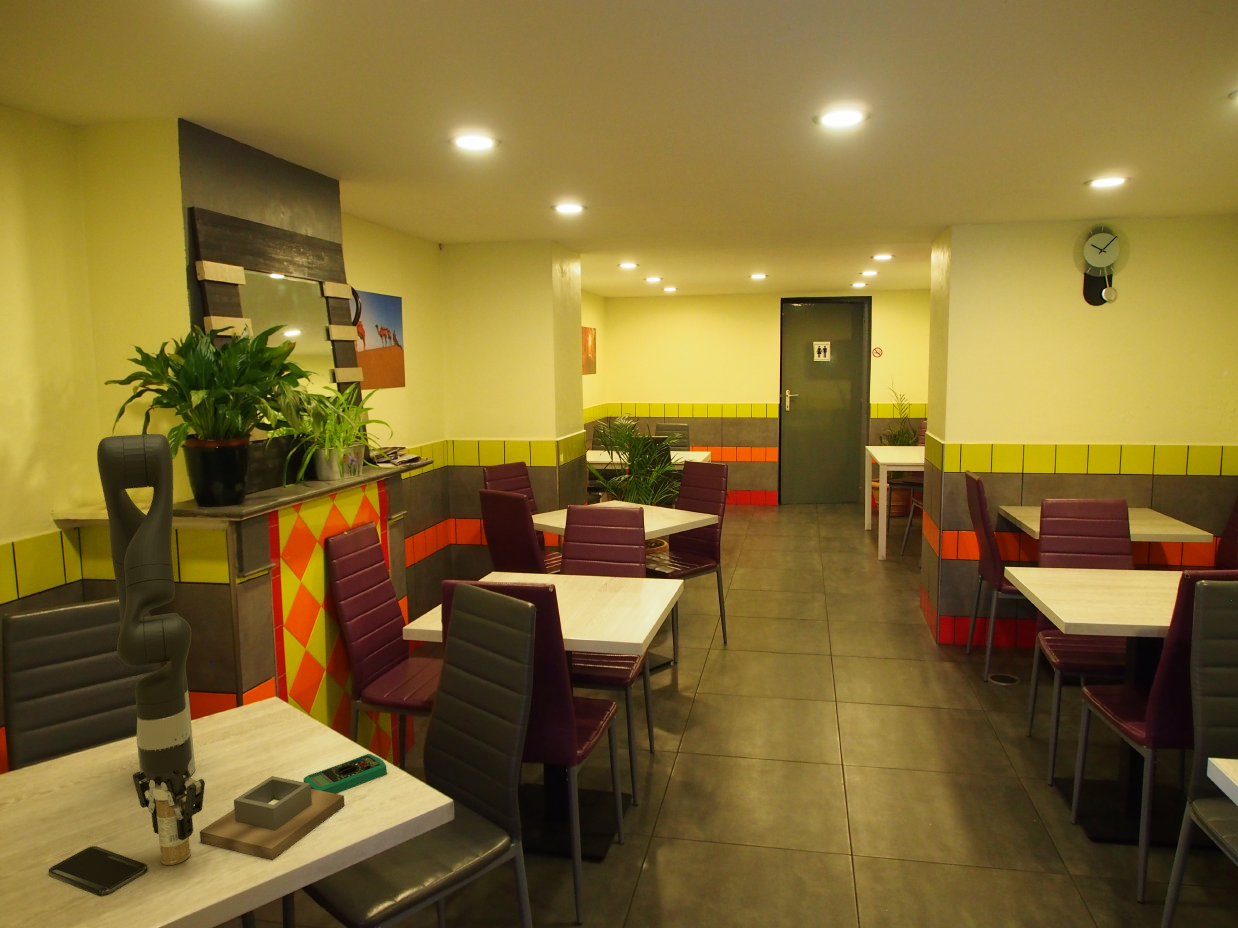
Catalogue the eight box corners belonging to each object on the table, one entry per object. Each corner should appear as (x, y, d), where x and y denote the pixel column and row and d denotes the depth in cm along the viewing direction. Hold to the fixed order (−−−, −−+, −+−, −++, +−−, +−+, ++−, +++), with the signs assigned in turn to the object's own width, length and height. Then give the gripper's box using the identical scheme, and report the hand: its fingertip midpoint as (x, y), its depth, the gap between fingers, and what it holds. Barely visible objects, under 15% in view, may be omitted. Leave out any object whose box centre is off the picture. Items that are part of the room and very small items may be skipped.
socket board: (200, 841, 143) (199, 829, 143) (277, 791, 160) (276, 780, 159) (272, 859, 137) (271, 847, 137) (344, 805, 154) (343, 794, 154)
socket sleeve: (235, 821, 146) (233, 799, 145) (273, 795, 154) (271, 775, 154) (275, 830, 142) (273, 808, 142) (311, 804, 151) (310, 783, 150)
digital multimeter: (390, 775, 166) (389, 761, 166) (318, 803, 156) (317, 788, 155) (373, 763, 171) (372, 749, 171) (302, 789, 161) (301, 775, 161)
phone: (103, 893, 128) (45, 869, 135) (104, 899, 129) (46, 876, 135) (151, 865, 135) (93, 844, 142) (151, 871, 136) (94, 850, 142)
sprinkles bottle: (191, 847, 141) (184, 773, 140) (190, 861, 137) (183, 785, 136) (161, 854, 139) (153, 779, 138) (159, 869, 135) (151, 792, 134)
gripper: (112, 740, 135) (122, 838, 137) (176, 753, 130) (186, 854, 132) (152, 722, 142) (161, 815, 144) (215, 733, 137) (224, 829, 139)
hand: (173, 833), depth 138 cm, fingers open, 5 cm apart
